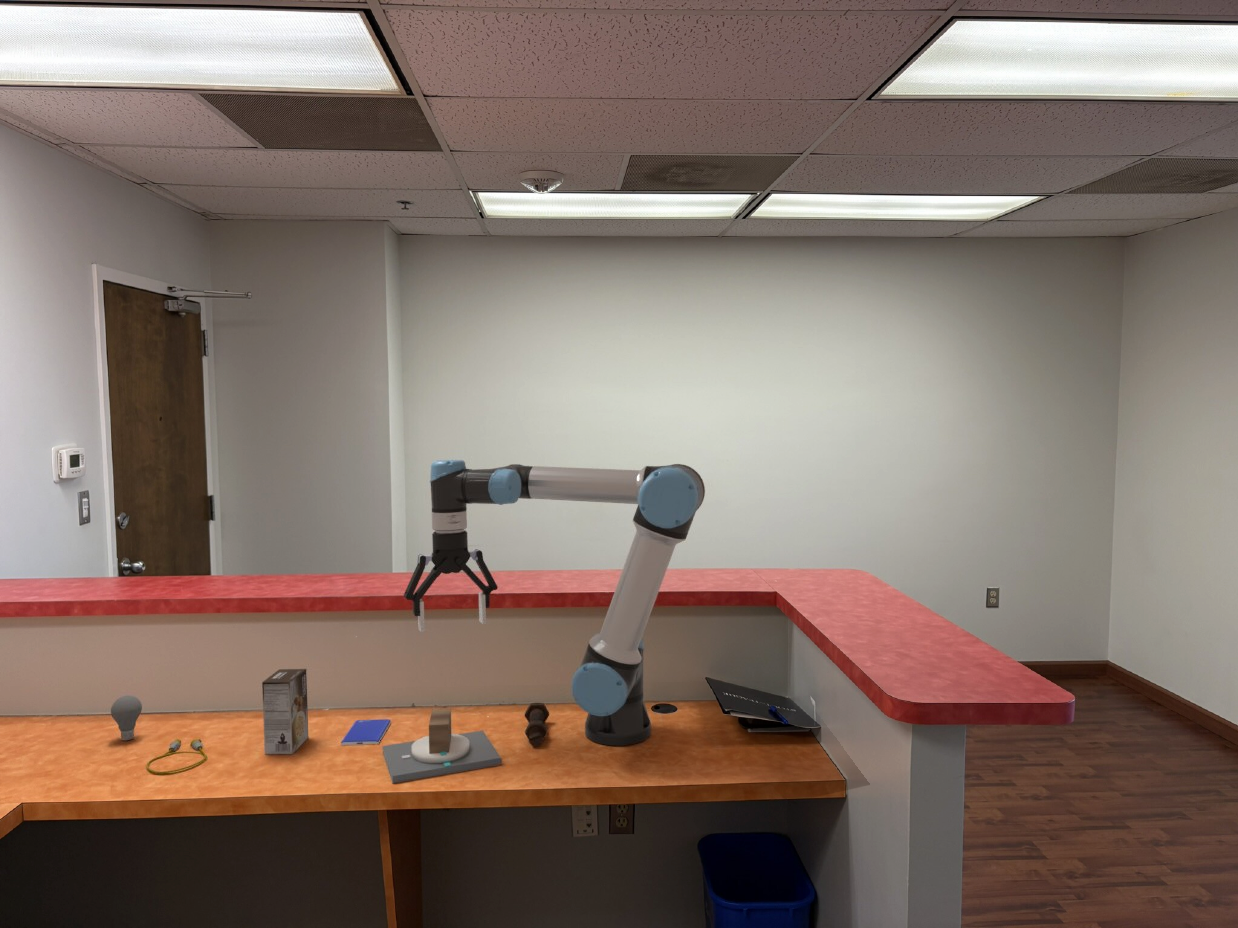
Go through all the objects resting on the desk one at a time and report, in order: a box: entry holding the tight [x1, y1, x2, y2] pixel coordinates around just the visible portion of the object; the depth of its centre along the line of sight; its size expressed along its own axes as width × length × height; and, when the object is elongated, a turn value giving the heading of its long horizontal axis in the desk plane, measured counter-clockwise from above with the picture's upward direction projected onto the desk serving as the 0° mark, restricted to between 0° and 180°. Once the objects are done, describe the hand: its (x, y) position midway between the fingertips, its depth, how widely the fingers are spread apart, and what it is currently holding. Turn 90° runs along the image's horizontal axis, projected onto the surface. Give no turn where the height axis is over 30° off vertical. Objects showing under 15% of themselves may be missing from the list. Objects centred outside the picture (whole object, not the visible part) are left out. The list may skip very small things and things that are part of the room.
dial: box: [412, 708, 469, 763], centre depth 173 cm, size 12×12×8 cm
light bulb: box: [110, 694, 143, 741], centre depth 184 cm, size 6×6×10 cm
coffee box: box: [261, 668, 309, 755], centre depth 180 cm, size 9×6×16 cm
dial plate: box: [382, 730, 502, 784], centre depth 173 cm, size 22×16×2 cm
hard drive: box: [340, 718, 392, 746], centre depth 187 cm, size 2×8×12 cm
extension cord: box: [146, 738, 208, 776], centre depth 174 cm, size 12×16×2 cm
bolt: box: [524, 702, 550, 747], centre depth 186 cm, size 6×5×15 cm
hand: (452, 626), depth 180 cm, fingers open, 13 cm apart
